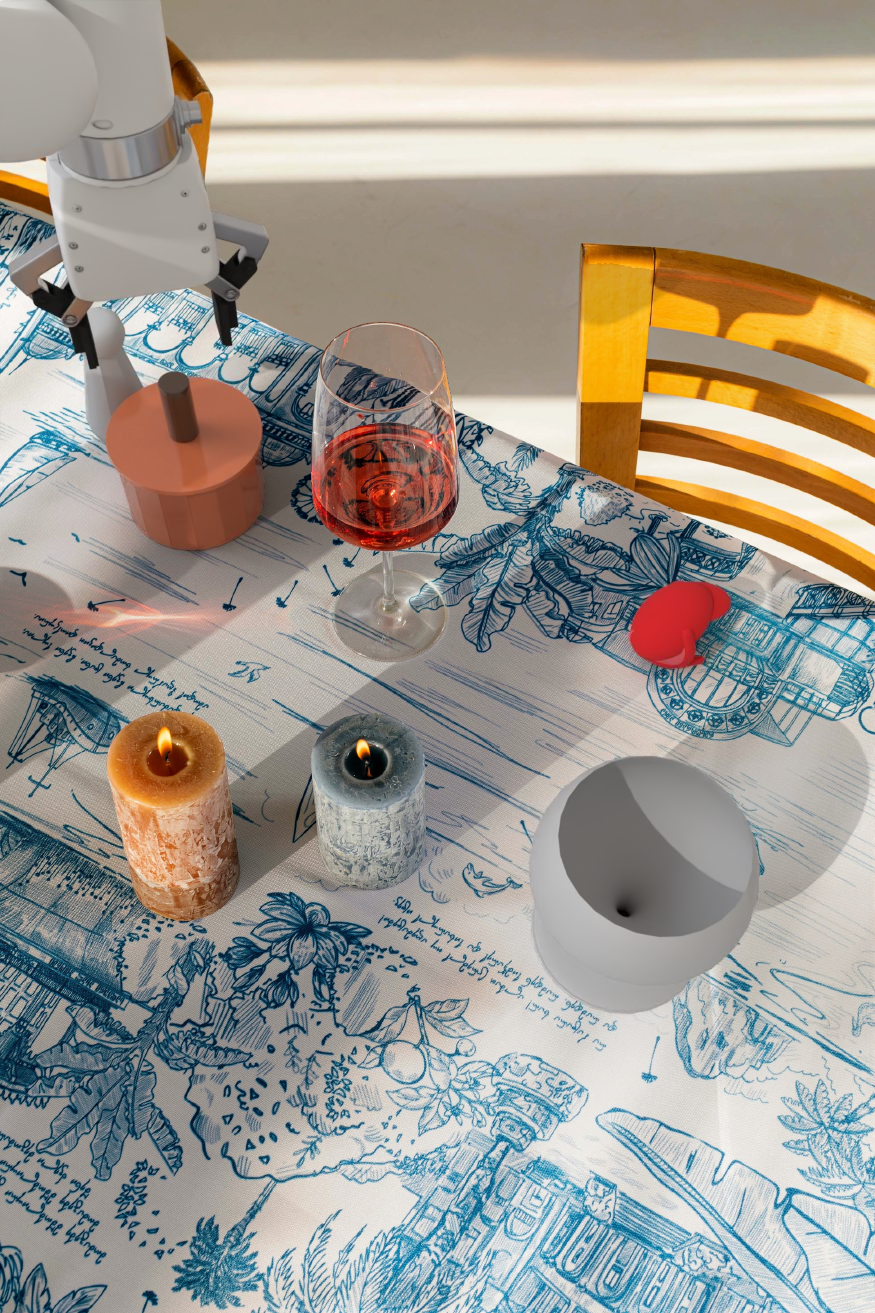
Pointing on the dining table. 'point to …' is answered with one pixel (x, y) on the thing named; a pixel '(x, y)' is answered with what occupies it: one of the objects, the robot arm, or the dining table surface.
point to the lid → (184, 435)
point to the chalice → (639, 882)
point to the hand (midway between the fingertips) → (158, 344)
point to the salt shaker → (107, 371)
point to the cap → (676, 622)
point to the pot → (200, 511)
